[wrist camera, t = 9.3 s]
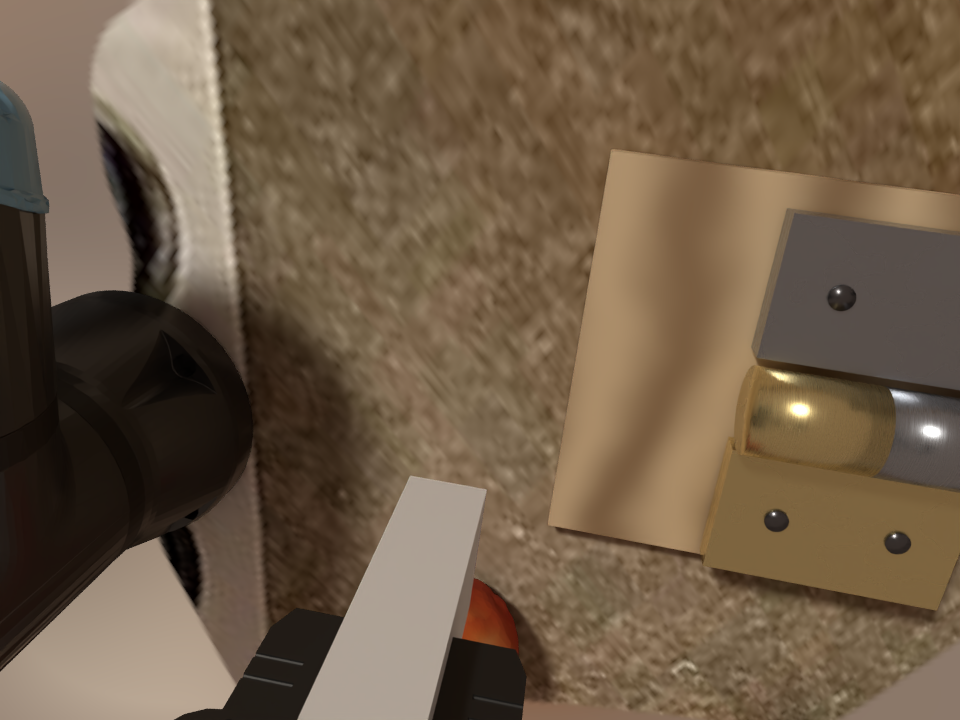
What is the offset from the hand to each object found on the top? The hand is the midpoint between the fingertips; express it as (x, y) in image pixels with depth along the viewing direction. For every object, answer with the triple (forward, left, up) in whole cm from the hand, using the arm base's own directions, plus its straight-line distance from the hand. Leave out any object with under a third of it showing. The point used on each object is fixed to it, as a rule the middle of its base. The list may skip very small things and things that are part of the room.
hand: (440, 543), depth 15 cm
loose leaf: (+17, -9, -25) cm, 32 cm away
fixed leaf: (+17, -1, -25) cm, 31 cm away
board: (+13, -5, -27) cm, 30 cm away
